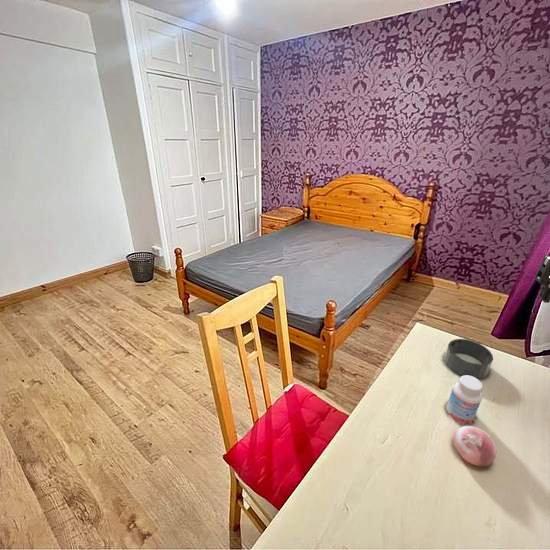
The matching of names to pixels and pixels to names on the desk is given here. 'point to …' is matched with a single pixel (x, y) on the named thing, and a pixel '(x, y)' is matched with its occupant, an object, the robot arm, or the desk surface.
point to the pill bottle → (465, 399)
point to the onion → (474, 445)
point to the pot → (472, 350)
